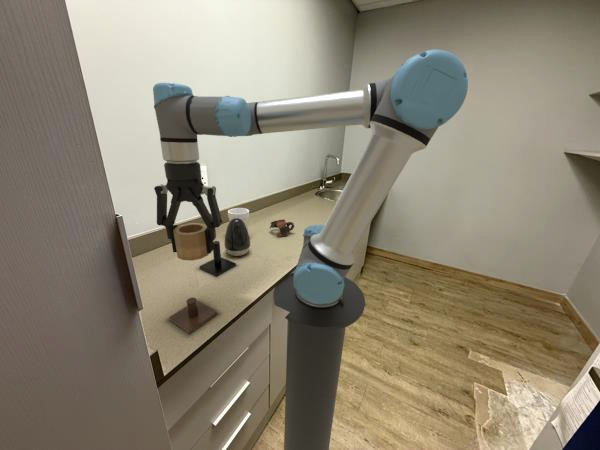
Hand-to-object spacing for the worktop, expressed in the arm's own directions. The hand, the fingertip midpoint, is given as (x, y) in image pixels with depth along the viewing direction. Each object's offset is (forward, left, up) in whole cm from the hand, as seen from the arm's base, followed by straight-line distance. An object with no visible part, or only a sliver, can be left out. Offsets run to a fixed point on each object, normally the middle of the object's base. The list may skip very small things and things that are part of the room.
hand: (193, 250), depth 63 cm
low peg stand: (-3, +5, -17) cm, 18 cm away
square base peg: (+12, -16, -17) cm, 27 cm away
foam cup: (+25, -40, -17) cm, 51 cm away
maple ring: (0, 0, -1) cm, 1 cm away
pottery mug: (+12, -56, -17) cm, 60 cm away
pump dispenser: (+14, -28, -17) cm, 36 cm away
